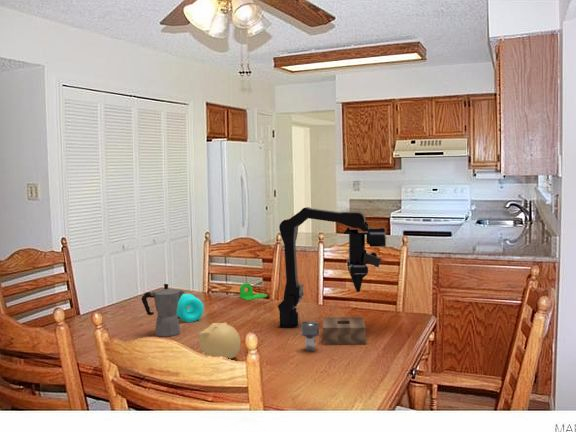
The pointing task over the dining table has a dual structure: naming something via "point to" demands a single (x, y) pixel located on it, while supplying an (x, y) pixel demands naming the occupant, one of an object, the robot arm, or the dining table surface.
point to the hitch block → (344, 330)
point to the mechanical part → (249, 292)
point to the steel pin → (310, 334)
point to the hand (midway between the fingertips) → (357, 289)
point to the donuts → (193, 311)
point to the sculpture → (220, 340)
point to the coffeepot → (165, 310)
